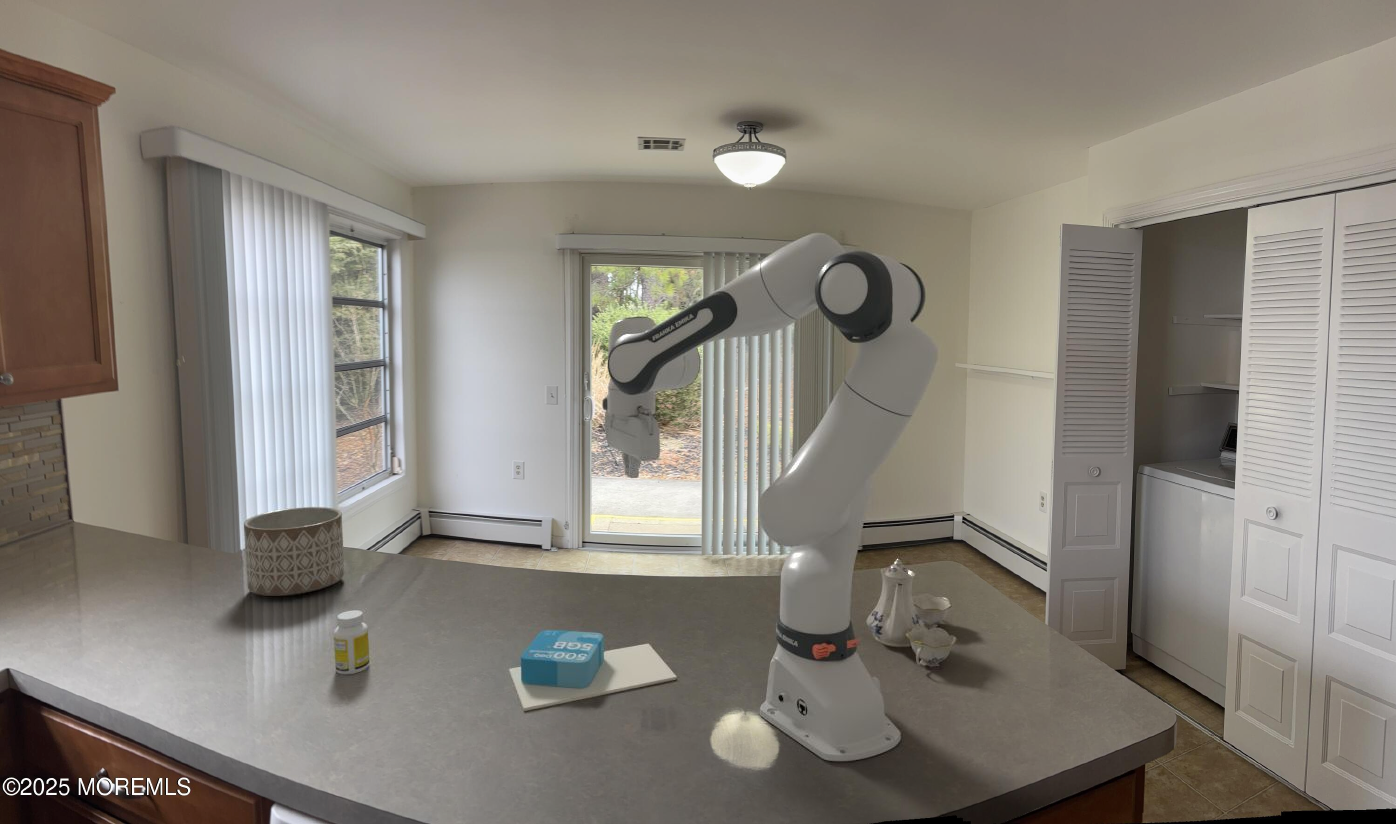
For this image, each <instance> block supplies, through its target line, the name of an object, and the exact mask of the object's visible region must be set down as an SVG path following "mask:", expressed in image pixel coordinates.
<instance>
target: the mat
mask: <svg viewBox="0 0 1396 824" xmlns="http://www.w3.org/2000/svg"><path fill="white" fill-rule="evenodd" d="M508 672H509V675H510V677H511V681H512V683H513V685H514V688H515V690H516V691H515V692H516V693H517V696H518V699H519V702H520V704H521V707H522V709H523V712H526V711H531V710H537V709H543V708H546V707H549V706H550V707H551V706H556V705H560V704H566V703H570V702H574V701H579V700H584V699H589V698H594V697H598V696H605V695H609V694H613V693H617V692H622V691H628V690H633V689H637V688H641V687H646V686H651V685H655V684H663V683H665V682H670V681H674V680H677V678H678V676H677V675H676V674H675V673H674V672H673V671H672V669H671V668H670V667H669V666H668V665H667V663H666V662H665V661H664V660H663V659H662V657H661V656H660V655H659V654H658V653H657V651H655V649H653V647H652V645H651V644H649V643H645V644H638V645H633V646H626V647H621V648H616V649H610V650H604V660H603V662H602V664H601V665H600V667H599V669H598V671H597V673H596V675H595V676H594V678H593V680H592V682H591V684H590V685H589V686H587V687H585V688H568V687H555V686H542V685H528V684H524V683H523V682H522V681H521V666H517V667H516V666H515V667H511V668H508Z"/></svg>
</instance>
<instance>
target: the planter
mask: <svg viewBox="0 0 1396 824" xmlns="http://www.w3.org/2000/svg"><path fill="white" fill-rule="evenodd" d="M342 518H343V515H342V511H340V510H339V509H336V508H332V507H322V506H309V507H308V506H307V507H293V508H285V509H284V508H283V509H278V510H272V511H267V512H264V513H260V514H256V515H254V516H251V517H249V518H247V519H246V520H244V522H243V531H244V532H243V533H244V548H245V549H244V551H245V563H246V564H245V566H246V567H245V568H246V582H247V588H248V590H249V591H250V592H251V593H253V594H255V595H259V596H266V597H267V596H269V597H281V596H295V595H294V594H298V595H302V594H301V593H303V594H307V593H310V592H315V591H318V590H321V589H324V588H327V587H330V586H331V585H335V584H336V583H337V582H339V581H340V580H342V578H343V577H344V575H345V557H344V537H343V536H344V535H343V519H342ZM306 592H307V593H306Z"/></svg>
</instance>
